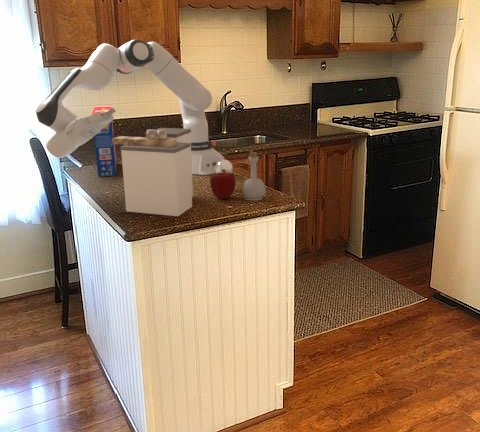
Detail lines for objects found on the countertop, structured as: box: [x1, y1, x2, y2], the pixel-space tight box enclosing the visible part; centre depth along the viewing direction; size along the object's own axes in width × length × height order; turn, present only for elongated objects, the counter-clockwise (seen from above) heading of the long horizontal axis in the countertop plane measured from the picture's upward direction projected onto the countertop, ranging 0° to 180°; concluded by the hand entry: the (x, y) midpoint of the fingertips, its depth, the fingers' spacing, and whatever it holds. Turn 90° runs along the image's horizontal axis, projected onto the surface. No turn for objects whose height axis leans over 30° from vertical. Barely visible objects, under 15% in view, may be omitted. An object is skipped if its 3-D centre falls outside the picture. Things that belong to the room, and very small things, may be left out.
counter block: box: [119, 127, 194, 217], centre depth 188 cm, size 20×24×26 cm
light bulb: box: [215, 159, 234, 174], centre depth 210 cm, size 7×7×12 cm
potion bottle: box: [241, 150, 267, 202], centre depth 195 cm, size 9×9×18 cm
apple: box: [209, 172, 236, 200], centre depth 197 cm, size 10×10×10 cm
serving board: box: [112, 128, 176, 147], centre depth 180 cm, size 22×6×5 cm, turn 71°
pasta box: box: [91, 106, 117, 177], centre depth 245 cm, size 28×8×28 cm, turn 13°
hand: (106, 111), depth 186 cm, fingers open, 8 cm apart
